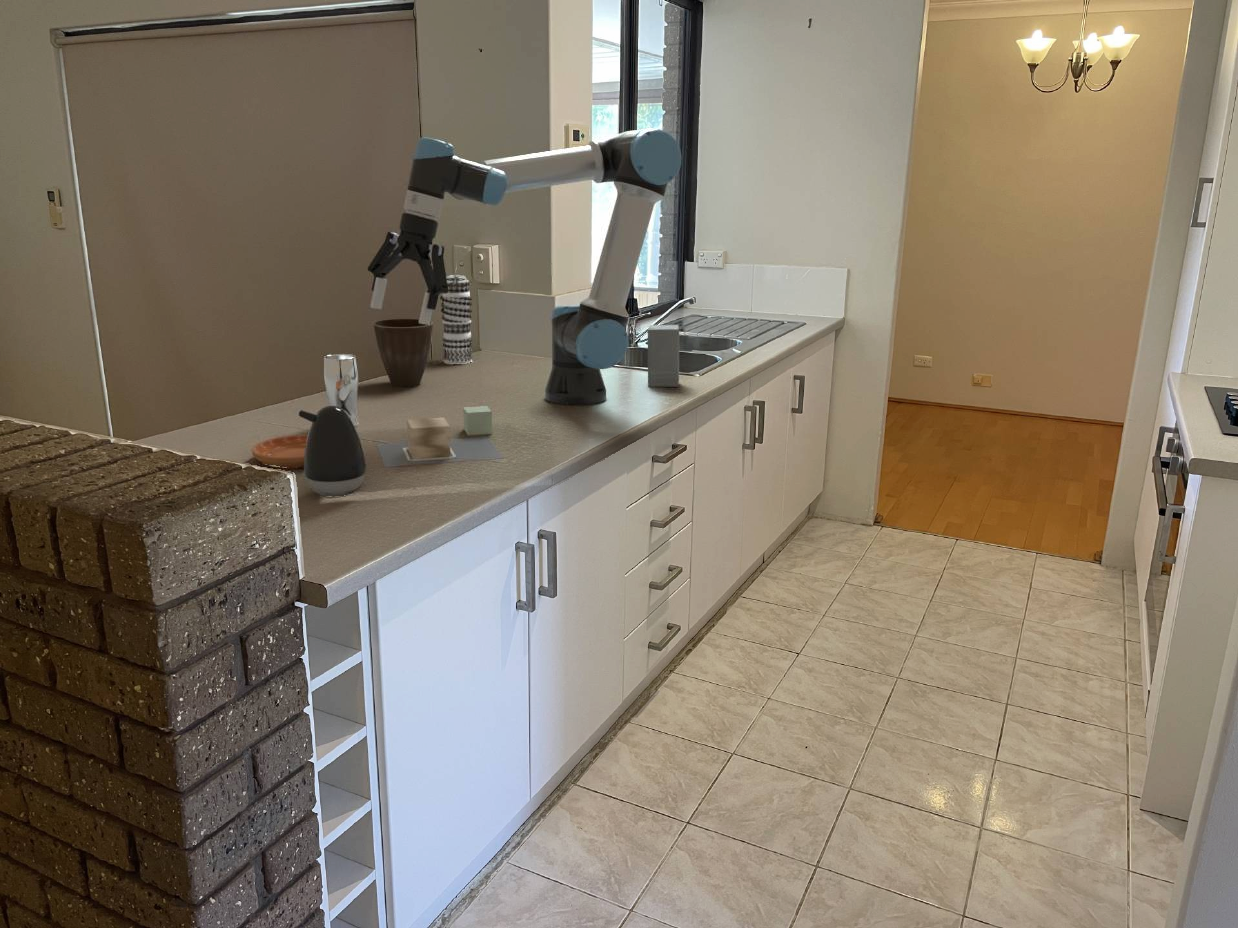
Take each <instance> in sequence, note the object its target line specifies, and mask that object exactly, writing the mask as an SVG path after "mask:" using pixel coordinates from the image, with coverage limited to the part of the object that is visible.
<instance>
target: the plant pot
mask: <svg viewBox="0 0 1238 928" xmlns="http://www.w3.org/2000/svg"><path fill="white" fill-rule="evenodd" d="M433 324H434V322H433V321H432V320H431V321H430V325H427V324H420V323H419V318H389V319H388V318H387V319H382V320H381V319H380V320H377V321H375V322H373V325H372V326H373V330H374V334H375V339H376V343H377V347H378V351H379V355H380V358H381V361H382V364H383V366H384V370H385V372H386V375H387V377H388V380H389V382H390V384H391V385H392V386H395V387H414V386H418V385H420V384H421V383H422V379H423V376H424V373H425V369H426V367H427V366H426V365H427V362H428V358H429V353H430V348H431V342H432V335H433Z"/></svg>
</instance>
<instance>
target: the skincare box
mask: <svg viewBox="0 0 1238 928" xmlns="http://www.w3.org/2000/svg"><path fill="white" fill-rule="evenodd" d="M679 382H680V325H679V324H665V325H664V324H663V325H662V324H660V325H659V324H658V325H657V324H649V326H648V327H647V386H648V388H649V387H650V388H651V387H652V388H656V387H657V388H678V387H679Z"/></svg>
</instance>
